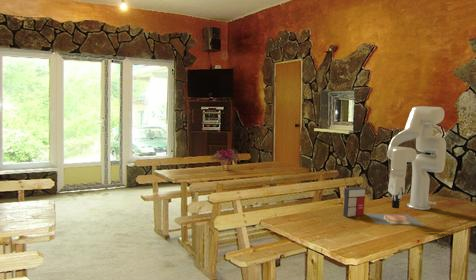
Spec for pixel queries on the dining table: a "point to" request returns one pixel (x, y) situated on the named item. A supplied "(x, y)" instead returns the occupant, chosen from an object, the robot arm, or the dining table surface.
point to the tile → (397, 219)
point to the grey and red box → (354, 201)
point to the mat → (380, 217)
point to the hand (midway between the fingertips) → (395, 207)
